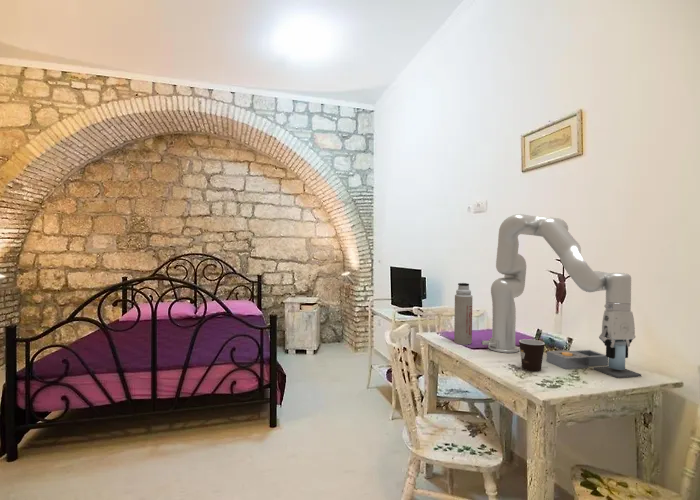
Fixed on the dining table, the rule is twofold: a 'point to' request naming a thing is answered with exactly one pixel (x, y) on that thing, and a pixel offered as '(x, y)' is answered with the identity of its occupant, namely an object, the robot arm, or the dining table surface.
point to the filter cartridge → (618, 355)
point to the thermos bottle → (463, 315)
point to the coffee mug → (531, 354)
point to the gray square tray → (594, 357)
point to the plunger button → (567, 353)
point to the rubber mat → (617, 372)
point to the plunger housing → (567, 359)
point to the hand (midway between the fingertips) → (616, 356)
